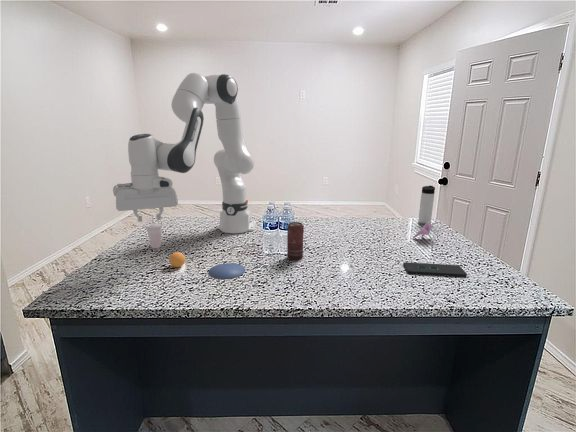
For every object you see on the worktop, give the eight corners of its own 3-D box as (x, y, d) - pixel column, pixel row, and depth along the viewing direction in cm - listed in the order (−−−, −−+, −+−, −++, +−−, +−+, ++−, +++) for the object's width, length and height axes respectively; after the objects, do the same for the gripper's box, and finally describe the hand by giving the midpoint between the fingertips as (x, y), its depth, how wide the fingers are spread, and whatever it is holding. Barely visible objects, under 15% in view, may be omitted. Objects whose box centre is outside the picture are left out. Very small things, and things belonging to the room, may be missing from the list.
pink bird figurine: (436, 239, 159) (428, 220, 160) (449, 237, 148) (440, 217, 149) (413, 247, 159) (405, 228, 160) (424, 246, 147) (415, 226, 148)
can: (302, 261, 130) (302, 226, 126) (285, 260, 131) (286, 225, 127) (304, 255, 136) (305, 222, 132) (289, 254, 137) (289, 221, 133)
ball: (174, 263, 127) (173, 249, 126) (188, 264, 126) (187, 250, 125) (167, 269, 122) (165, 254, 121) (181, 270, 121) (180, 256, 120)
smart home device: (403, 261, 127) (459, 264, 125) (402, 265, 128) (458, 268, 126) (407, 270, 120) (467, 274, 117) (407, 275, 120) (466, 278, 118)
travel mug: (432, 223, 181) (437, 186, 176) (427, 225, 176) (432, 188, 171) (421, 220, 185) (425, 184, 180) (416, 223, 181) (420, 186, 175)
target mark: (216, 262, 128) (216, 261, 128) (249, 265, 126) (249, 264, 126) (202, 277, 116) (202, 276, 116) (238, 280, 114) (238, 280, 114)
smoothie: (146, 249, 140) (142, 217, 136) (149, 244, 146) (146, 213, 142) (162, 249, 141) (159, 216, 137) (165, 243, 147) (162, 212, 143)
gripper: (111, 185, 111) (117, 226, 114) (176, 181, 119) (179, 219, 122) (112, 182, 116) (117, 221, 120) (174, 179, 124) (177, 215, 128)
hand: (149, 220), depth 121 cm, fingers open, 5 cm apart
